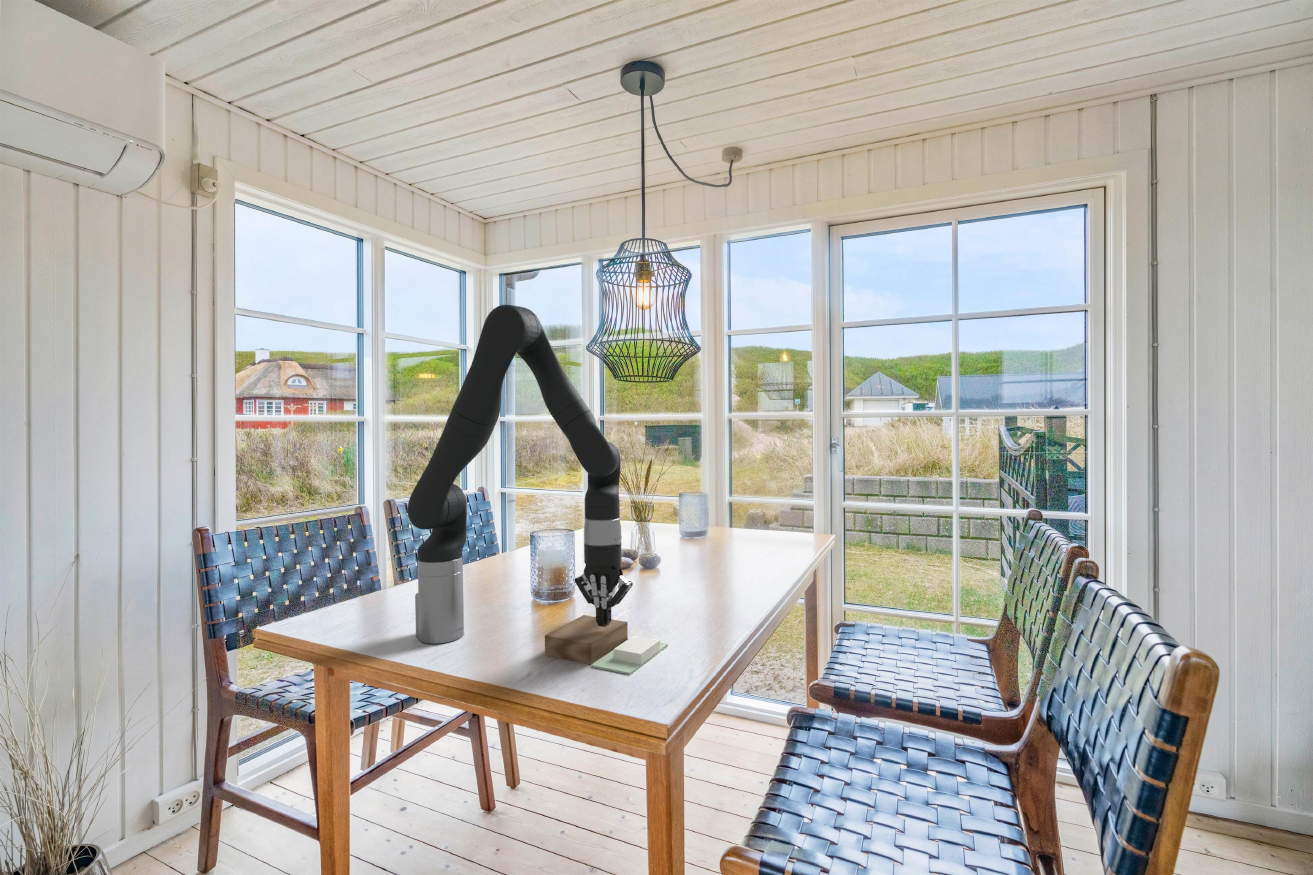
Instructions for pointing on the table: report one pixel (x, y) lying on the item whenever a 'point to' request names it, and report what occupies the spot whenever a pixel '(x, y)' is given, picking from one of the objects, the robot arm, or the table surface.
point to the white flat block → (637, 649)
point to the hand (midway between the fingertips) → (603, 625)
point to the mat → (621, 663)
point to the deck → (585, 639)
